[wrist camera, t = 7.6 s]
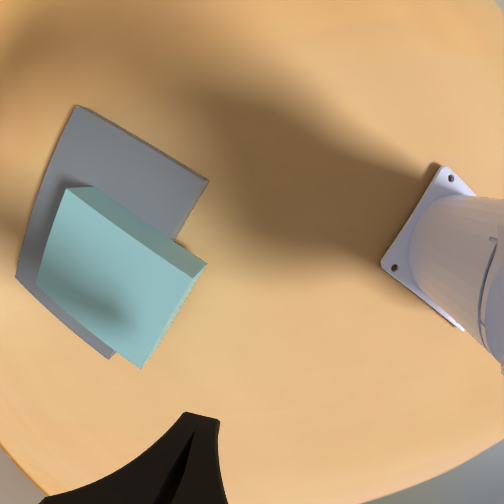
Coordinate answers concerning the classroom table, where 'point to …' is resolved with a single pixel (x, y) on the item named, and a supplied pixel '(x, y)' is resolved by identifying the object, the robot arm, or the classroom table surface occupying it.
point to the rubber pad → (113, 185)
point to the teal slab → (115, 273)
